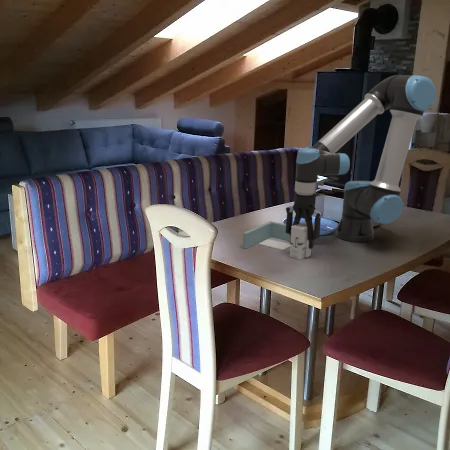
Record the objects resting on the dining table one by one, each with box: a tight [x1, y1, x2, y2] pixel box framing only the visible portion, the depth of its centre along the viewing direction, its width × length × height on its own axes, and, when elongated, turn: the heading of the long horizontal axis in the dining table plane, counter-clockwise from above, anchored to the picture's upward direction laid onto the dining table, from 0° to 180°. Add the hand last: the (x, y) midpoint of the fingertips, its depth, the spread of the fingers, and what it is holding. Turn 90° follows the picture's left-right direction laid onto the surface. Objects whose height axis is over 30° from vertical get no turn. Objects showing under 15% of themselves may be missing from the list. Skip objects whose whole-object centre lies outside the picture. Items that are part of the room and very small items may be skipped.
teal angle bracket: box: [242, 220, 290, 249], centre depth 193 cm, size 20×20×6 cm
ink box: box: [289, 221, 314, 260], centre depth 183 cm, size 9×5×12 cm, turn 141°
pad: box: [258, 238, 290, 251], centre depth 195 cm, size 11×7×1 cm, turn 54°
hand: (300, 254), depth 185 cm, fingers closed on ink box, 5 cm apart
